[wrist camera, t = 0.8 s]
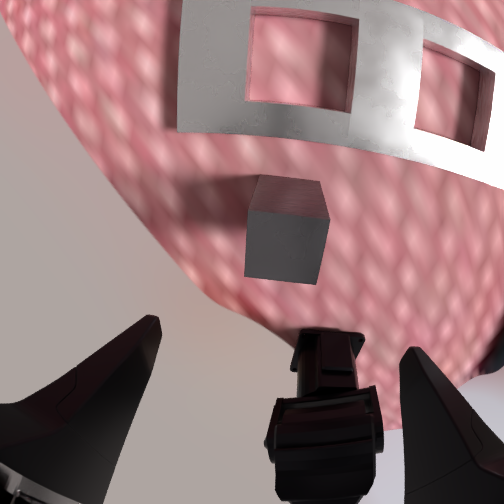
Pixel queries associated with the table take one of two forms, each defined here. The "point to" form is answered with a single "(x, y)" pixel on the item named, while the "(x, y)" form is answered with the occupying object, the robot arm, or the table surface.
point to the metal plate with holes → (359, 82)
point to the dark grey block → (286, 230)
